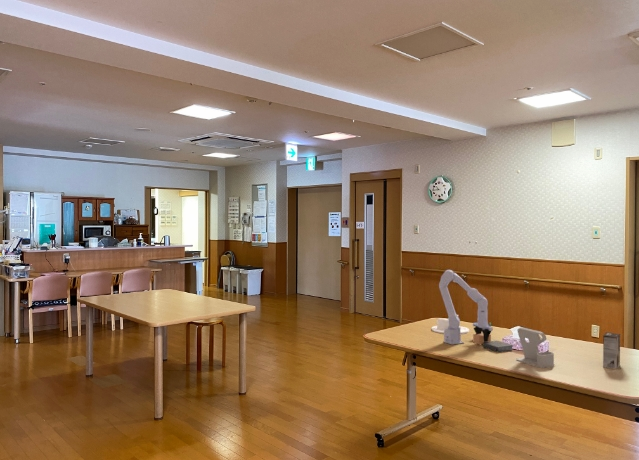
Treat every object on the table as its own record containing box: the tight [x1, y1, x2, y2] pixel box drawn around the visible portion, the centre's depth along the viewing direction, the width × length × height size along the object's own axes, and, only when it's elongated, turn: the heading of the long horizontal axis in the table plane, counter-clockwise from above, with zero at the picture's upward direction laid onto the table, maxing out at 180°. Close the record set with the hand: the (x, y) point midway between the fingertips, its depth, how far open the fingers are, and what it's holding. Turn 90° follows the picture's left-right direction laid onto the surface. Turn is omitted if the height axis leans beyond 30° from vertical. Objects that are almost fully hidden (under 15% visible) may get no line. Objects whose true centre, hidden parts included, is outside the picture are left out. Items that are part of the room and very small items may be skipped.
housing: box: [472, 333, 492, 345], centre depth 299 cm, size 10×5×5 cm, turn 115°
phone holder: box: [515, 326, 556, 369], centre depth 260 cm, size 17×10×18 cm, turn 27°
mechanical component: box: [475, 321, 493, 333], centre depth 313 cm, size 3×10×10 cm, turn 89°
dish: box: [431, 314, 470, 335], centre depth 337 cm, size 25×25×11 cm
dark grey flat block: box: [482, 340, 514, 353], centre depth 288 cm, size 11×12×3 cm
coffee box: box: [602, 331, 621, 370], centre depth 253 cm, size 9×6×16 cm
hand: (482, 340), depth 299 cm, fingers closed on housing, 5 cm apart
